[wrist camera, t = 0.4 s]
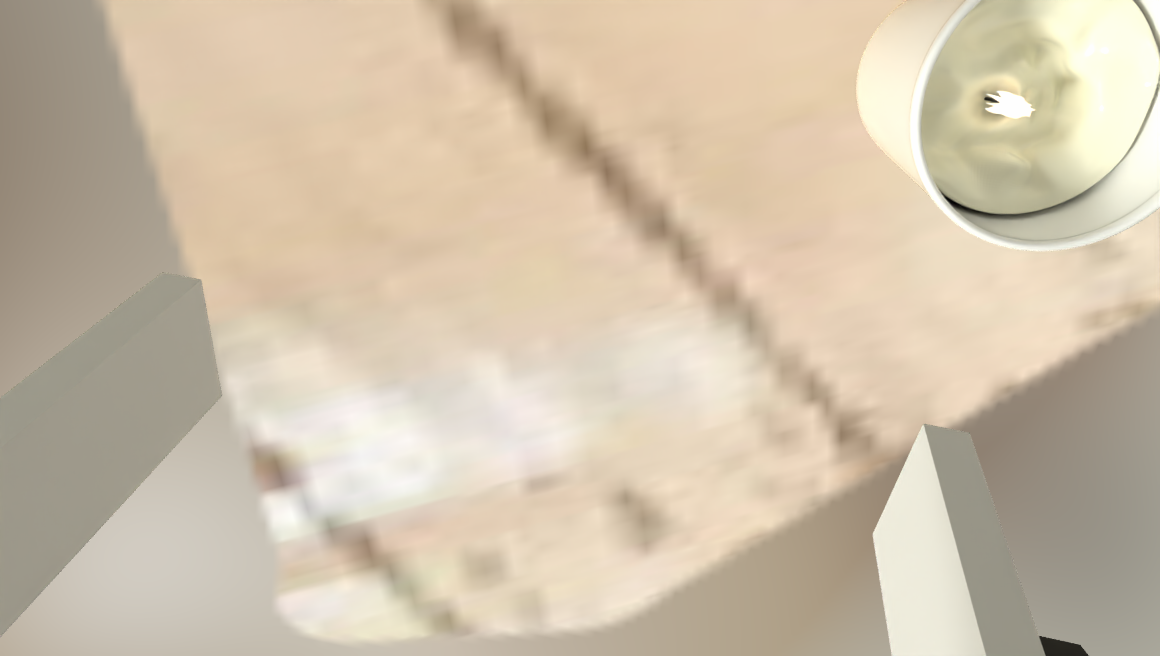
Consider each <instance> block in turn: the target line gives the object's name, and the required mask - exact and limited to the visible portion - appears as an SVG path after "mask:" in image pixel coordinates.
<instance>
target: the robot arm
mask: <svg viewBox="0 0 1160 656" xmlns="http://www.w3.org/2000/svg"><path fill="white" fill-rule="evenodd" d="M221 396H222V392H221V387H220V381H219V376H218V370H217V364H216V359H215V353H214V348H213V342H212V337H211V331H210V326H209V320H208V315H207V309H206V304H205V298H204V293H203V287H202V281H201V280H200V279H195V278H190V277H185V276H180V275H175V274H170V273H165V272H162V273H161V274H160V275H158V276H157V277H156V278H154V279H153V280H152V281H151V282H149V283H148V284H147V285H146V286H144V287H143V288H142V289H140V290H139V291H138V292H136V293H135V294H134V295H132V296H131V297H130V298H129V299H127V300H126V301H125V302H123V303H122V304H121V305H119V306H118V307H117V308H116V309H114V310H113V311H112V312H110V313H109V314H108V315H107V316H106V317H104V318H103V319H101V320H100V321H99V322H97V323H96V324H95V325H94V326H92V327H91V328H90V329H88V330H87V331H86V332H85V333H83V334H82V335H81V336H79V337H78V338H77V339H75V340H74V341H73V342H72V343H70V344H69V345H68V346H67V347H65V348H64V349H63V350H61V351H60V352H59V353H57V354H56V355H55V356H53V357H52V358H51V359H50V360H48V361H47V362H46V363H44V364H43V365H42V366H41V367H39V368H38V369H37V370H35V371H34V372H33V373H31V374H30V375H29V376H28V377H26V378H25V379H24V380H22V381H21V382H20V383H19V384H17V385H16V386H15V387H13V388H12V389H11V390H10V391H8V392H7V393H6V394H4V395H3V396H2V397H1V398H0V637H1V636H2V635H3V634H4V633H5V632H6V630H7V629H8V628H9V627H10V626H11V625H12V624H13V623H14V622H15V621H16V620H17V619H18V617H19V616H20V615H21V614H22V613H23V612H24V611H25V610H26V609H27V608H28V606H29V605H30V604H31V603H32V602H33V601H34V600H35V599H36V598H37V597H38V596H39V594H40V593H41V592H42V591H43V590H44V589H45V588H46V587H47V586H48V585H49V584H50V582H51V581H52V580H53V579H54V578H55V577H56V576H57V575H58V574H59V573H60V572H61V571H62V569H63V568H64V567H65V566H66V565H67V564H68V563H69V562H70V561H71V560H72V559H73V558H74V556H75V555H76V554H77V553H78V552H79V551H80V550H81V549H82V548H83V547H84V545H85V544H86V543H87V542H88V541H89V540H90V539H91V538H92V537H93V536H94V535H95V533H96V532H97V531H98V530H99V529H100V528H101V527H102V526H103V525H104V523H106V521H107V520H108V519H109V518H110V517H111V516H112V515H113V514H114V513H115V512H116V510H118V508H119V507H120V506H121V505H122V504H123V503H124V502H125V501H126V500H127V498H128V497H130V495H131V494H132V493H133V492H134V491H135V490H136V489H137V488H138V487H139V486H140V484H141V483H142V482H143V481H144V480H145V479H146V478H147V477H148V476H149V475H150V474H151V472H152V471H153V470H154V469H155V468H156V467H157V466H158V465H159V464H160V463H161V462H162V461H163V459H164V458H165V457H166V456H167V455H168V454H169V453H170V452H171V451H172V450H173V448H175V446H176V445H177V444H178V443H179V442H180V441H181V440H182V439H183V438H184V437H185V436H186V434H187V433H188V432H189V431H190V430H191V429H192V428H193V427H194V425H196V424H197V422H198V421H199V420H200V419H201V418H202V417H203V416H204V415H205V414H206V413H207V412H208V410H209V409H210V408H211V407H212V406H213V405H214V404H215V403H216V402H217V401H218V400H219V399H220V397H221ZM873 539H874V546H875V552H876V558H877V565H878V571H879V577H880V584H881V590H882V596H883V603H884V609H885V614H886V621H887V627H888V634H889V640H890V647H891V653H892V656H1088V654H1087V653H1086V652H1085V651H1084V649H1083V648H1082V647H1081V645H1078V644H1074V643H1069V642H1064V641H1060V640H1055V639H1051V638H1046V637H1042V636H1039V635H1038V632H1037V629H1036V626H1035V623H1034V620H1033V617H1032V615H1031V612H1030V609H1029V606H1028V603H1027V600H1026V597H1025V594H1024V591H1023V588H1022V585H1021V582H1020V580H1019V577H1018V573H1017V571H1016V568H1015V565H1014V562H1013V559H1012V556H1011V553H1010V550H1009V547H1008V544H1007V541H1006V539H1005V536H1004V532H1003V529H1002V527H1001V524H1000V521H999V518H998V515H997V512H996V509H995V506H994V503H993V500H992V497H991V494H990V491H989V488H988V486H987V483H986V480H985V477H984V474H983V471H982V468H981V465H980V462H979V459H978V456H977V453H976V450H975V448H974V444H973V441H972V439H971V436H970V433H968V432H963V431H958V430H953V429H948V428H943V427H938V426H933V425H928V424H923V426H922V428H921V430H920V432H919V434H918V436H917V439H916V441H915V443H914V445H913V447H912V450H911V452H910V454H909V456H908V458H907V461H906V463H905V465H904V467H903V469H902V472H901V474H900V476H899V478H898V480H897V482H896V485H895V487H894V489H893V491H892V493H891V495H890V498H889V500H888V502H887V504H886V506H885V509H884V511H883V513H882V515H881V518H880V520H879V522H878V524H877V526H876V528H875V530H874V533H873Z"/></svg>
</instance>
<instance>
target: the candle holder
mask: <svg viewBox="0 0 1160 656" xmlns="http://www.w3.org/2000/svg"><path fill="white" fill-rule="evenodd" d="M856 96H857V105H858V110H859V113H860V117H861V119H862V122H863V124H864V127H865V129H866V130H867V132H868V134H869V135H870V137H871V138H872V140H873V141H874V142H875V144H876V145H877V146H878V147H879V148H880V149H881V150H882V151H883V153H884V154H885V155H886V156H887V157H888V158H890V159H891V160H892V161H893V162H894V163H895V164H896V165H897V166H898V167H899V168H900V169H901V170H902V171H903V172H904V173H905V174H906V175H907V176H908V177H910V178H911V179H912V180H913V181H914V182H915V183H916V184H917V185H918V186H919V187H920V188H921V189H922V190H923V191H924V192H925V193H927V194H928V195H929V196H930V197H931V198H932V200H933V201H934V202H935V204H936V205H937V206H938V207H939V208H940V209H941V211H942V212H943V213H944V214H945V215H946V216H947V217H949V218H950V219H951V220H952V221H953V222H954V223H956V224H957V225H958V226H960V227H961V228H962V229H964V230H966V231H967V232H969V233H971V234H972V235H974V236H976V237H978V238H980V239H982V240H985V241H987V242H990V243H993V244H996V245H999V246H1003V247H1007V248H1011V249H1017V250H1025V251H1057V250H1065V249H1071V248H1076V247H1081V246H1085V245H1089V244H1092V243H1095V242H1098V241H1101V240H1104V239H1106V238H1109V237H1111V236H1114V235H1116V234H1118V233H1120V232H1122V231H1124V230H1126V229H1128V228H1130V227H1132V226H1134V225H1135V224H1137V223H1139V222H1140V221H1142V220H1143V219H1145V218H1146V217H1148V216H1149V215H1151V214H1152V213H1154V212H1155V211H1156V210H1158V209H1159V208H1160V0H906V1H904V2H903V3H902V4H900V5H899V6H898V7H897V8H895V9H894V10H893V11H892V12H891V13H890V14H889V15H888V16H887V17H886V18H885V19H884V20H883V22H882V23H881V24H880V25H879V27H878V28H877V29H876V31H875V32H874V34H873V35H872V37H871V39H870V40H869V42H868V44H867V46H866V48H865V51H864V53H863V56H862V59H861V62H860V65H859V69H858V75H857V83H856Z"/></svg>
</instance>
